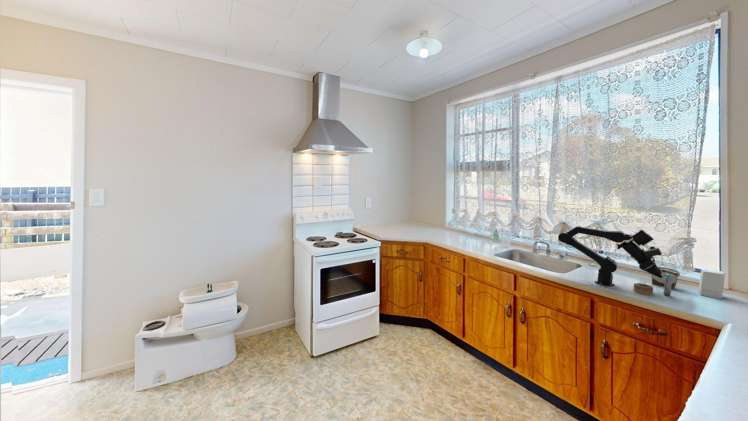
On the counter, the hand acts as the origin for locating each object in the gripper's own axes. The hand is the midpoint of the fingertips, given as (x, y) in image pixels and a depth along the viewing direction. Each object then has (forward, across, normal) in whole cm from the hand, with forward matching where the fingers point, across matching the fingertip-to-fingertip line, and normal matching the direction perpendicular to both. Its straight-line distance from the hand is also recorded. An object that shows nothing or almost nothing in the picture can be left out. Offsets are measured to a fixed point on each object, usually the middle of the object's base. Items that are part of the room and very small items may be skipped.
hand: (661, 275), depth 148 cm
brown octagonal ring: (+2, -2, +12) cm, 12 cm away
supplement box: (+20, +16, -6) cm, 27 cm away
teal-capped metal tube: (+9, 0, +5) cm, 10 cm away
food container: (+9, +19, +5) cm, 21 cm away
